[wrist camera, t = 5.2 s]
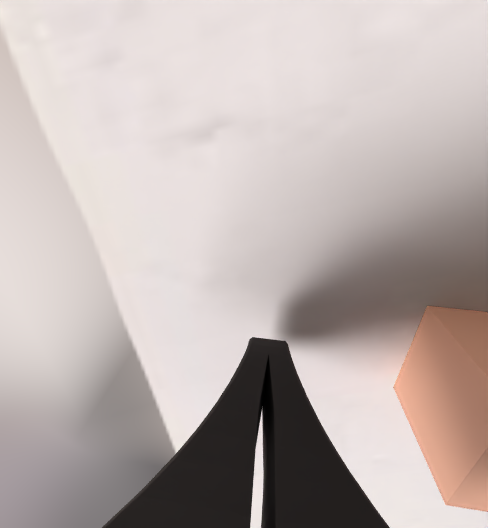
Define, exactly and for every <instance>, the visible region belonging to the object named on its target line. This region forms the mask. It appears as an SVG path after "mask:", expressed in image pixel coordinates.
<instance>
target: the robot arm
mask: <svg viewBox="0 0 488 528" xmlns="http://www.w3.org/2000/svg"><path fill="white" fill-rule="evenodd" d="M261 411H262V415H263V467H264V481H263V505H262V523H261V528H390V527H389V526H388V525H387V523H386V522H385V521H384V519H383V518H382V517H381V515H380V514H379V513H378V511H377V510H376V509H375V507H374V506H373V504H372V503H371V502H370V500H369V499H368V497H367V496H366V494H365V493H364V491H363V490H362V489H361V487H360V486H359V484H358V483H357V481H356V480H355V478H354V477H353V476H352V474H351V473H350V471H349V470H348V468H347V467H346V465H345V463H344V462H343V460H342V459H341V457H340V455H339V454H338V452H337V451H336V449H335V447H334V446H333V444H332V442H331V441H330V439H329V437H328V435H327V434H326V432H325V430H324V428H323V427H322V425H321V423H320V421H319V419H318V417H317V415H316V413H315V411H314V409H313V407H312V405H311V403H310V401H309V399H308V397H307V395H306V393H305V390H304V388H303V386H302V384H301V381H300V379H299V377H298V374H297V372H296V369H295V366H294V364H293V361H292V358H291V354H290V351H289V347H288V344H287V343H286V341H280V340H271V339H263V338H255V337H252V338H251V339H250V340H249V343H248V346H247V349H246V352H245V354H244V356H243V358H242V360H241V362H240V364H239V366H238V368H237V370H236V372H235V374H234V375H233V377H232V379H231V381H230V382H229V384H228V386H227V387H226V389H225V390H224V392H223V393H222V395H221V396H220V398H219V400H218V401H217V403H216V404H215V405H214V407H213V408H212V410H211V411H210V412H209V414H208V415H207V417H206V418H205V419H204V420H203V422H202V423H201V424H200V426H199V427H198V428H197V429H196V431H195V432H194V433H193V434H192V436H191V437H190V438H189V439H188V440H187V442H186V443H185V444H184V445H183V446H182V448H181V449H180V450H179V451H178V452H177V453H176V454H175V455H174V457H173V458H172V459H171V460H170V461H169V462H168V463H167V464H166V465H165V466H164V467H163V468H162V469H161V471H160V472H159V473H158V474H157V475H156V476H155V477H154V478H153V479H152V480H151V481H150V482H149V483H148V484H147V485H146V486H145V487H144V488H143V489H142V490H141V491H140V492H139V493H138V494H137V495H136V496H135V497H134V498H133V499H132V500H131V501H130V502H129V503H128V504H127V505H126V506H125V507H123V508H122V509H121V510H120V511H119V512H118V513H117V514H116V515H115V516H114V517H113V518H112V519H111V520H110V521H108V522H107V524H105V525H104V526H103V527H102V528H250V521H251V506H252V491H253V476H254V462H255V448H256V442H257V436H258V430H259V423H260V417H261Z"/></svg>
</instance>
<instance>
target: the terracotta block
mask: <svg viewBox="0 0 488 528" xmlns="http://www.w3.org/2000/svg"><path fill="white" fill-rule="evenodd" d="M394 390H395V392H396V394H397V396H398V399H399V401H400V403H401V405H402V408H403V410H404V412H405V414H406V417H407V419H408V421H409V424H410V426H411V428H412V430H413V433H414V435H415V437H416V439H417V442H418V444H419V446H420V448H421V451H422V453H423V455H424V457H425V460H426V462H427V464H428V466H429V469H430V471H431V473H432V475H433V478H434V480H435V482H436V484H437V487H438V489H439V491H440V493H441V496H442V498H443V500H444V502H445V505H449V506H455V507H462V508H468V509H474V510H480V511H486V512H488V312H482V311H473V310H463V309H454V308H444V307H434V306H427V307H426V310H425V312H424V315H423V317H422V319H421V322H420V324H419V327H418V329H417V332H416V334H415V336H414V339H413V341H412V344H411V346H410V348H409V351H408V353H407V356H406V358H405V360H404V363H403V365H402V368H401V370H400V373H399V375H398V377H397V380H396V382H395V385H394Z"/></svg>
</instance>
